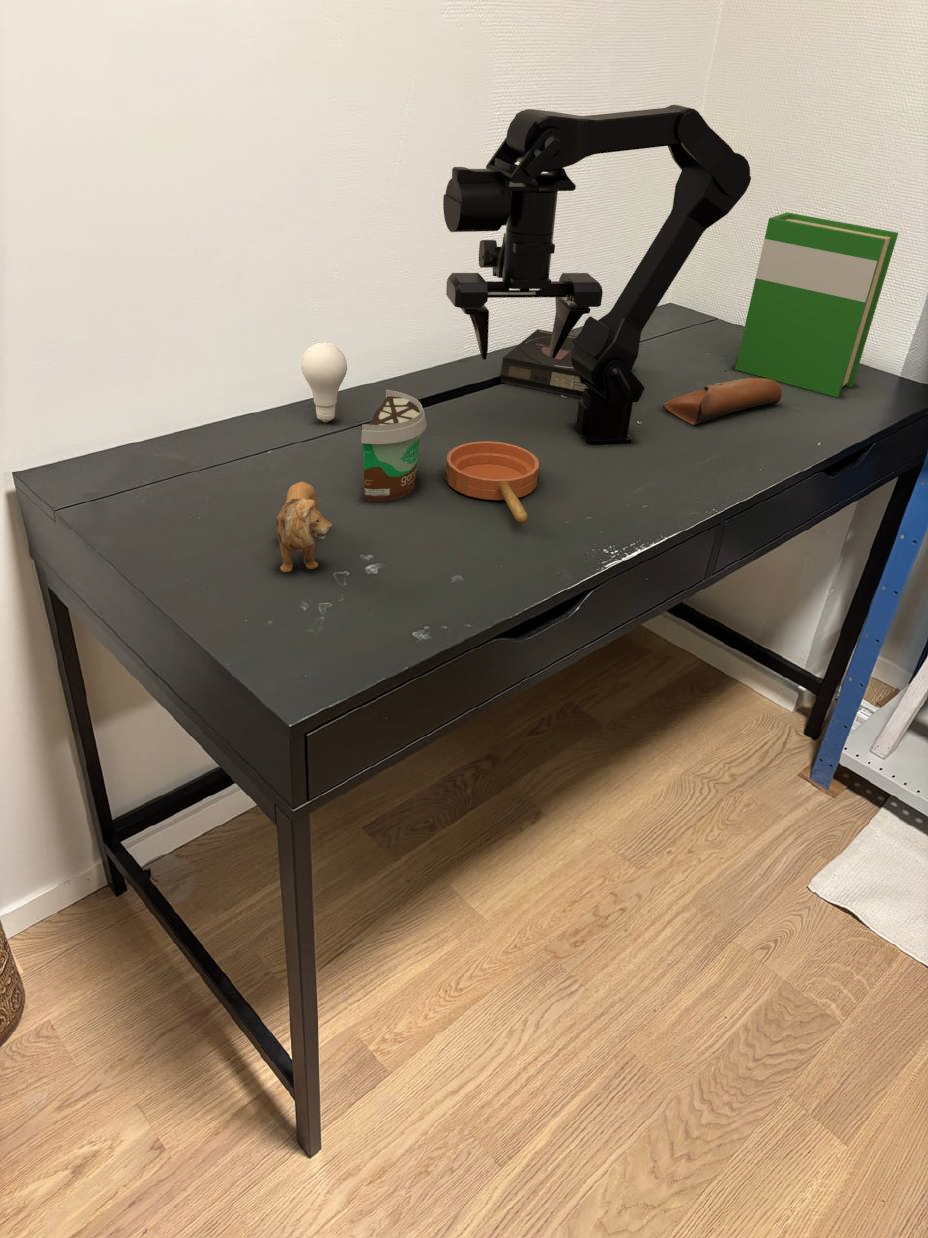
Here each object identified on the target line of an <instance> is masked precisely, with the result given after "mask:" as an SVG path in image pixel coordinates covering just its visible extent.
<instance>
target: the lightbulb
mask: <svg viewBox="0 0 928 1238" xmlns="http://www.w3.org/2000/svg"><path fill="white" fill-rule="evenodd" d="M300 365H301V367H300V368H301V372H302V375H303V378H304V379H305V381H306V382H307V384H308V386H309V387H310V390H311V393H312V397H313V404H314V405H315V413H316V418H317V419H318V420H320V421H322V422H323V423H329V422H330V421H332V420H333V419H335V417H336V405H337V402H338V394H339V390H340V387H341V386H342V383H343V381H344V380H345V377H346V376H347V371H348V363H347V359H346V356H345V354H344V352H343V350H341V349H340V348H339V347H338V346H336V345H335V344H332V343H330V342H326V341H323V342H316V343H314V344H312V345H310V346H309V347H307V349H306V350H305V352H304V353H303V355H302V357H301V363H300Z"/></svg>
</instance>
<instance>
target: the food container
mask: <svg viewBox="0 0 928 1238" xmlns="http://www.w3.org/2000/svg"><path fill="white" fill-rule="evenodd" d="M361 426H362V427H361V428H362V429H361V440H360V443H361V444H362V457H363V459H362V460H363V462H362V463H363V487H364V501H367V502H368V501H370V502H388V501H392V500H398V499H401V498H403V497H406V496H409V494H411V493H412V492H413V491H414V489H415V486H416V477H417V469H418V459H419V451H420V450H419V449H420V440H421V434H423V433H424V432H425V430H426V428H427V419H426V413H425V410H424V408H423V405H422V404H421V401H419V400H418V399H417V398H415V397H413V396H412V395H410V394H407V393H404V392H401V391H397V390H391V389H385V399H384V401H383V402H382V404H381V405H380V406H379V407H378V408H377V409H376V410H375V411H374V414H373V416H372V418H371V420H370V422H369V423H368V424H367V423H366V424H364V423H363V424H362V425H361Z"/></svg>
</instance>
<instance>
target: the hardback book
mask: <svg viewBox="0 0 928 1238" xmlns="http://www.w3.org/2000/svg"><path fill="white" fill-rule="evenodd" d="M898 236H899V232H898V231H892V230H888V229H887V230H886V229H880V228H875V227H870V226H866V225H865V226H863V225H860V224H854V223H847V222H842V221H836V220H831V219H826V218H821V217H815V216H810V215H804V214H799V213H794V212H793V213H792V212H787V211H786V212H783V213H780V214H777V215H775V216H771V217H769V218H768V221H767V226H766V230H765V235H764V239H763V243H762V247H761V253H760V257H759V262H758V265H757V270H756V275H755V279H754V284H753V286H752V287H753V288H752V292H751V297H750V301H749V305H748V311H747V316H746V319H745V324H744V327H743V328H744V329H743V332H742V337H741V340H740V346H739V351H738V354H737V358H736V364H735V368H734V370H736V371H739V372H743V373H746V374H747V373H748V374H751V375H753V376H758V377H760V378H765V379H771V380H775V381H777V382H778V383H783V384H787V385H791V386H794V387H798V388H801V389H805V390H809V391H813V392H816V393H819V394H823V395H827V396H831V397H834V398H839V397H840V395H841V392H842V388H843V387H844V386H845V387H849V388H852V387H853V386H854V382H855V379H856V376H857V373H858V369H859V366H860V363H861V359H862V356H863V353H864V349H865V347H866V343H867V339H868V336H869V333H870V329H871V326H872V322H873V320H874V316H875V312H876V310H877V306H878V303H879V299H880V296H881V292H882V289H883V286H884V282H885V279H886V276H887V272H888V270H889V267H890V263H891V261H892V260H891V259H892V257H893V253H894V249H895V247H896V242H897V239H898Z"/></svg>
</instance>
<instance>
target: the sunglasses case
mask: <svg viewBox="0 0 928 1238" xmlns="http://www.w3.org/2000/svg"><path fill="white" fill-rule="evenodd" d="M782 390H783V389H782V386H781V385H780V382H779V381H776V380H772V379H768V378H765V377H750V378H740V379H735V380H729V381H722V382H715V383H714V384H709V385H705V386H704V387H703V389H700V390H699V389H698V390H695V391H691V392H688V393H685V394H682V395H680V396H676V397H675V398H672V399H670V400H668V401H666V402H664V403H663V406H662V407H663V408H664V409H665V410H667V411H668V412H669V413H671V414H672V415H673V416H675V417H676V418H678V419H680V420H682V421H684V422H686V423H688V424H690V425H692V426H695V425H698V424H700V423H701V422H702V423H703V422H707V421H710V420H713V419H716V418H719V417H722V416H723V415H728V414H731V413H733V412H738V411H743V410H747V409H751V408H753V407H754V408H755V407H760V406H762V405H766V404H770V403H772V404H775V405H776V404H778V403H779V402H780V401H781V400H782V396H783V391H782Z"/></svg>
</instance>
